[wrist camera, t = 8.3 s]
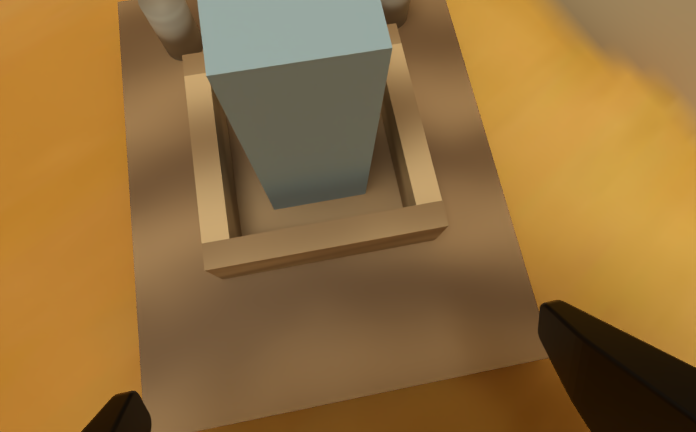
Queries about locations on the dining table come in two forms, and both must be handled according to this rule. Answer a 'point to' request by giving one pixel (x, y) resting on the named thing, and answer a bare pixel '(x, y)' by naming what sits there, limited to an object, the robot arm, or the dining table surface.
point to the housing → (313, 239)
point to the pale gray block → (300, 89)
